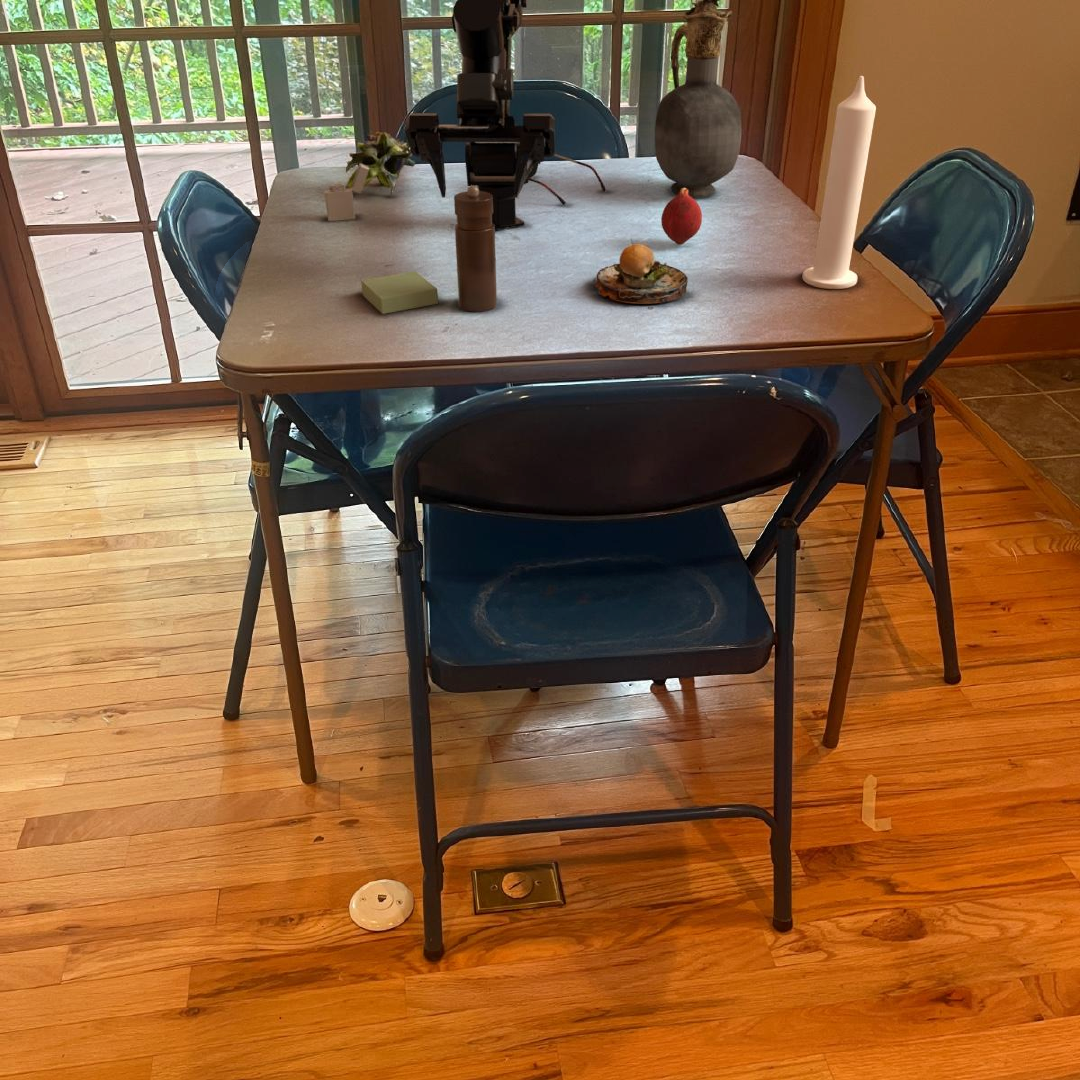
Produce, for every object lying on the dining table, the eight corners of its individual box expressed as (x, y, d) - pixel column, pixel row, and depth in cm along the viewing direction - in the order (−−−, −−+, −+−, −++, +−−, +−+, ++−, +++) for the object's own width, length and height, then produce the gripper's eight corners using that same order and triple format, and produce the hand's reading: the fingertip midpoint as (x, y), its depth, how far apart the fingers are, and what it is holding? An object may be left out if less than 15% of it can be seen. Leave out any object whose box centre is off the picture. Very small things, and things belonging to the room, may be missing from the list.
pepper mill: (452, 302, 127) (446, 183, 119) (487, 295, 129) (482, 178, 121) (468, 314, 124) (462, 193, 116) (503, 307, 126) (500, 187, 117)
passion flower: (385, 216, 177) (414, 153, 175) (405, 221, 168) (436, 153, 166) (328, 185, 171) (357, 118, 169) (345, 187, 162) (376, 117, 160)
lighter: (328, 221, 157) (322, 168, 152) (327, 218, 158) (321, 165, 154) (374, 217, 158) (369, 164, 154) (372, 214, 160) (367, 162, 155)
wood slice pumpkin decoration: (704, 294, 129) (710, 236, 125) (631, 312, 124) (633, 253, 120) (648, 268, 138) (651, 213, 133) (577, 284, 132) (577, 228, 128)
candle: (826, 292, 129) (859, 83, 115) (791, 276, 135) (818, 74, 121) (868, 283, 132) (905, 77, 118) (831, 268, 137) (863, 69, 123)
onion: (698, 252, 143) (703, 195, 139) (658, 249, 144) (661, 193, 140) (701, 239, 148) (705, 184, 143) (662, 237, 149) (665, 182, 144)
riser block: (362, 295, 130) (360, 280, 128) (416, 285, 132) (415, 270, 131) (382, 314, 124) (380, 298, 123) (438, 303, 127) (437, 288, 126)
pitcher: (681, 207, 162) (696, -3, 145) (637, 178, 177) (646, -15, 160) (742, 201, 164) (764, -6, 148) (694, 173, 179) (709, -17, 163)
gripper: (401, 42, 122) (395, 159, 119) (554, 43, 121) (552, 160, 118) (415, 99, 133) (409, 208, 130) (555, 100, 132) (553, 209, 129)
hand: (479, 196), depth 126 cm, fingers open, 9 cm apart
